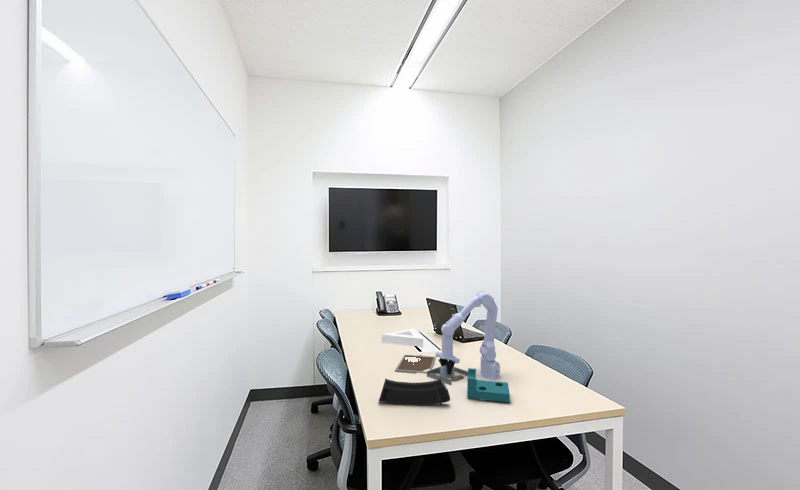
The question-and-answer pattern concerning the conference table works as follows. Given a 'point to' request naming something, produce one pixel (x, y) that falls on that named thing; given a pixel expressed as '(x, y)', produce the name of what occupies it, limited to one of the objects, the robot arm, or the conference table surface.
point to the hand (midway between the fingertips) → (447, 373)
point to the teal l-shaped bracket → (486, 388)
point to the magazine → (414, 393)
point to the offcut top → (457, 378)
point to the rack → (433, 375)
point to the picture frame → (415, 364)
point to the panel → (445, 371)
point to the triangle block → (403, 338)
